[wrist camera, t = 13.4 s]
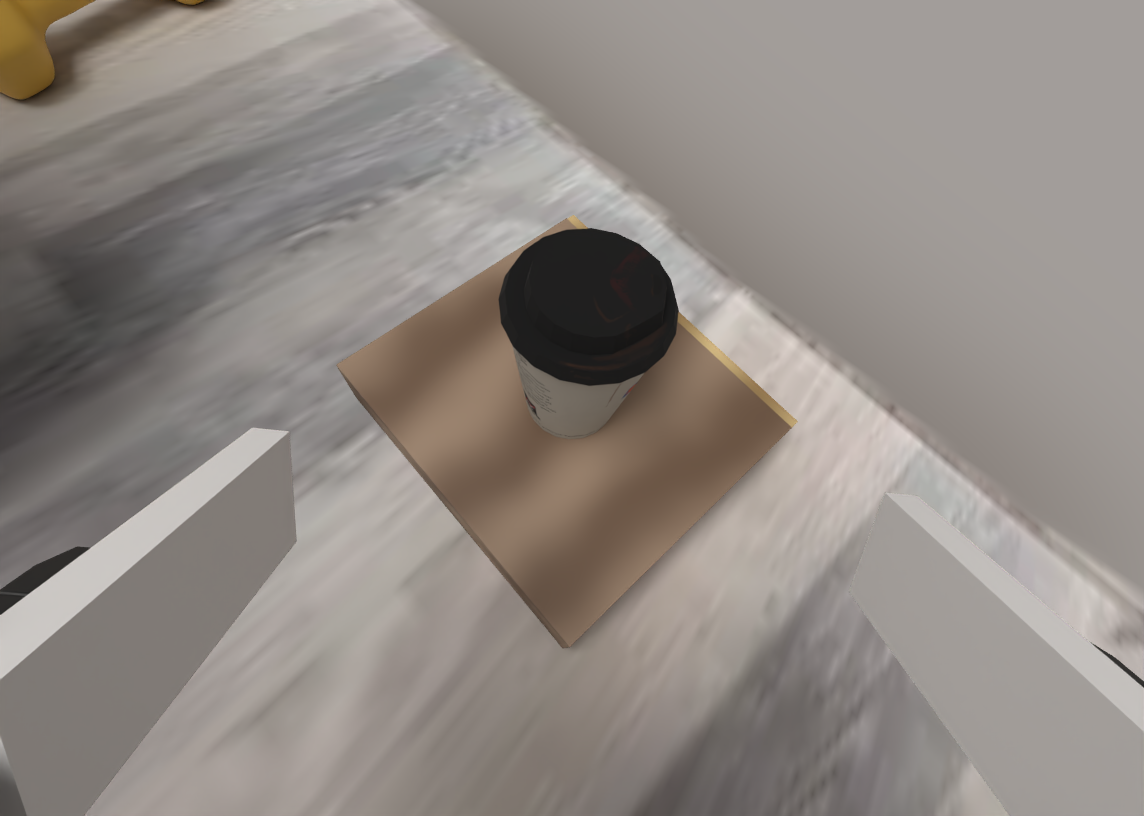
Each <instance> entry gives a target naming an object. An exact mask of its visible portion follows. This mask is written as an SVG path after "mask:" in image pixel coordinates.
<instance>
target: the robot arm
mask: <svg viewBox="0 0 1144 816" xmlns="http://www.w3.org/2000/svg"><path fill="white" fill-rule="evenodd" d="M296 541H297V540H296V525H295V510H294V494H293V479H292V463H291V448H290V432H289V431H280V430H270V429H260V428H251V429H250V430H249V431H247V432H246V433H245V434H243V435H242V436H241V437H239V438H238V439H237V440H235V441H234V442H233V443H231V444H230V445H229V446H227V447H226V448H224V449H223V450H222V451H220V452H219V453H218V454H216V455H215V456H214V457H212V458H211V459H210V460H208V461H207V462H206V463H204V464H203V465H202V466H200V467H199V468H198V469H196V470H195V471H194V472H192V473H191V474H190V475H188V476H187V477H185V478H184V479H183V480H181V481H180V482H179V483H177V484H176V485H175V486H173V487H172V488H171V489H169V490H168V491H167V492H165V493H164V494H163V495H161V496H160V497H159V498H157V499H156V500H155V501H153V502H152V503H151V504H149V505H148V506H146V507H145V508H144V509H142V510H141V511H140V512H138V513H137V514H136V515H134V516H133V517H132V518H130V519H129V520H128V521H126V522H125V523H124V524H122V525H121V526H120V527H118V528H117V529H116V530H114V531H113V532H112V533H110V534H109V535H107V536H106V537H105V538H103V539H102V540H101V541H99V542H98V543H97V544H95V545H94V546H93V547H91V548H88V547H75V548H73V549H71V550H69V551H66V552H64V553H62V554H60V555H57V556H55V557H53V558H51V559H48V560H46V561H44V562H42V563H39V564H37V565H35V566H33V567H32V568H31V569H29V570H28V571H26V572H25V573H23V574H22V575H21V576H19V577H18V578H16V579H15V580H13V581H12V582H11V583H9V584H8V585H6V586H5V587H3V588H2V589H1V590H0V816H84V815H85V814H86V812H87V811H88V810H89V809H90V807H91V806H92V805H93V803H94V802H95V801H96V800H97V798H98V797H99V796H100V794H101V793H102V792H103V790H104V789H105V788H106V787H107V785H108V784H109V783H110V781H111V780H112V779H113V778H114V776H115V775H116V774H117V772H118V771H119V770H120V769H121V767H122V766H123V765H124V763H125V762H126V761H127V759H128V758H129V757H130V756H131V754H132V753H133V752H134V750H135V749H136V748H137V747H138V745H139V744H140V743H141V741H142V740H143V739H144V738H145V736H146V735H147V734H148V732H149V731H150V730H151V728H152V727H153V726H154V725H155V723H156V722H157V721H158V719H159V718H160V717H161V716H162V714H163V713H164V712H165V710H166V709H167V708H168V707H169V705H170V704H171V703H172V701H173V700H174V699H175V698H176V696H177V695H178V694H179V692H180V691H181V690H182V688H183V687H184V686H185V685H186V683H187V682H188V681H189V679H190V678H191V677H192V676H193V674H194V673H195V672H196V670H197V669H198V668H199V667H200V665H201V664H202V663H203V661H204V660H205V659H206V657H207V656H208V655H209V654H210V652H211V651H212V650H213V648H214V647H215V646H216V645H217V643H218V642H219V641H220V639H221V638H222V637H223V636H224V634H225V633H226V632H227V630H228V629H229V628H230V627H231V625H232V624H233V623H234V621H235V620H236V619H237V617H238V616H239V615H240V614H241V612H242V611H243V610H244V608H245V607H246V606H247V605H248V603H249V602H250V601H251V599H252V598H253V597H254V596H255V594H256V593H257V592H258V590H259V589H260V588H261V586H262V585H263V584H264V583H265V581H266V580H267V579H268V577H269V576H270V575H271V574H272V572H273V571H274V570H275V568H276V567H277V566H278V565H279V563H280V562H281V561H282V559H283V558H284V557H285V555H286V554H287V553H288V552H289V550H290V549H291V548H292V546H293V545H294V544H295V543H296ZM849 593H850V595H851V596H852V597H853V599H854V600H855V602H856V603H857V604H858V606H859V607H860V608H861V610H862V611H863V613H864V614H865V615H866V617H867V618H868V620H869V621H870V622H871V624H872V625H873V627H874V628H875V629H876V631H877V632H878V633H879V635H880V636H881V638H882V639H883V640H884V642H885V643H886V645H887V646H888V647H889V649H890V650H891V652H892V653H893V654H894V656H895V657H896V659H897V660H898V661H899V663H900V664H901V665H902V667H903V668H904V670H905V671H906V672H907V674H908V675H909V677H910V678H911V679H912V681H913V682H914V684H915V685H916V686H917V688H918V689H919V690H920V692H921V693H922V695H923V696H924V697H925V699H926V700H927V702H928V703H929V704H930V706H931V707H932V709H933V710H934V711H935V713H936V714H937V716H938V717H939V718H940V720H941V721H942V722H943V724H944V725H945V727H946V728H947V729H948V731H949V732H950V734H951V735H952V736H953V738H954V739H955V741H956V742H957V743H958V745H959V746H960V747H961V749H962V750H963V752H964V753H965V754H966V756H967V757H968V759H969V760H970V761H971V763H972V764H973V766H974V767H975V768H976V770H977V771H978V773H979V774H980V775H981V777H982V778H983V779H984V781H985V782H986V784H987V785H988V786H989V788H990V789H991V791H992V792H993V793H994V795H995V796H996V798H997V799H998V800H999V802H1000V803H1001V804H1002V806H1003V807H1004V809H1005V810H1006V811H1007V813H1008V814H1009V816H1144V681H1143V680H1141V679H1140V678H1139V677H1138V676H1137V675H1135V674H1134V673H1133V672H1132V671H1131V670H1129V669H1128V668H1127V667H1126V666H1125V665H1123V664H1122V663H1121V662H1120V661H1119V660H1117V659H1116V658H1115V657H1113V656H1112V655H1110V654H1108V653H1107V652H1105V651H1104V650H1102V649H1100V648H1099V647H1097V646H1096V645H1094V644H1092V643H1091V642H1089V641H1088V640H1087V639H1086V638H1084V637H1083V636H1082V635H1081V634H1080V633H1078V632H1077V631H1076V630H1075V629H1074V628H1073V627H1071V626H1070V625H1069V624H1068V623H1067V622H1066V621H1064V620H1063V619H1062V618H1061V617H1060V616H1058V615H1057V614H1056V613H1055V612H1054V611H1053V610H1051V609H1050V608H1049V607H1048V606H1047V605H1045V604H1044V603H1043V602H1042V601H1041V600H1040V599H1038V598H1037V597H1036V596H1035V595H1034V594H1033V593H1031V592H1030V591H1029V590H1028V589H1027V588H1025V587H1024V586H1023V585H1022V584H1021V583H1020V582H1018V581H1017V580H1016V579H1015V578H1014V577H1012V576H1011V575H1010V574H1009V573H1008V572H1007V571H1005V570H1004V569H1003V568H1002V567H1001V566H999V565H998V564H997V563H996V562H995V561H994V560H992V559H991V558H990V557H989V556H988V555H987V554H985V553H984V552H983V551H982V550H981V549H979V548H978V547H977V546H976V545H975V544H974V543H972V542H971V541H970V540H969V539H968V538H966V537H965V536H964V535H963V534H962V533H961V532H959V531H958V530H957V529H956V528H955V527H953V526H952V525H951V524H950V523H949V522H948V521H946V520H945V519H944V518H943V517H942V516H941V515H939V514H938V513H937V512H936V511H935V510H933V509H932V508H931V507H930V506H929V505H928V504H926V503H925V502H924V501H923V500H922V499H920V498H919V497H918V496H915V495H905V494H895V493H886V492H885V493H884V495H883V498H882V501H881V504H880V507H879V509H878V512H877V515H876V518H875V520H874V523H873V526H872V529H871V531H870V534H869V537H868V540H867V542H866V545H865V548H864V551H863V553H862V556H861V559H860V562H859V564H858V567H857V570H856V573H855V576H854V578H853V581H852V584H851V587H850V589H849Z"/></svg>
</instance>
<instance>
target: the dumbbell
mask: <svg viewBox="0 0 1144 816" xmlns="http://www.w3.org/2000/svg"><path fill="white" fill-rule="evenodd" d="M94 1H96V0H0V92H1V93H3V94H5V95H7V96H9V97H12V98H15V99H27V98H29V97H31V96H33V95H35V94H37V93H39V92H40V91H42V90H44V89H45V88H47V87H48V86H49V85H50V84H51V83H52V82H53V79H54V77H55V69H54V65H53V60H52V58H51V55H50V53H49V50H48V47H47V45H46V40H45V33H46V30H47V28H48V27H49V25H50V24H52V23H53V22H55V21H57V20H59V19H61V18H63V17H65V16H67V15H69V14H71V13H73V12H75V11H77V10H79V9H80V8H82V7H84V6H86V5H88V4H90V3H92V2H94ZM176 1H179V2H181V3H184V4H190V5H194V4H198V3H200V2H203V1H205V0H176Z"/></svg>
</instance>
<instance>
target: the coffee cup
mask: <svg viewBox="0 0 1144 816" xmlns="http://www.w3.org/2000/svg"><path fill="white" fill-rule="evenodd" d="M498 300H499V309H500V318H501V324H502V326H503V328H504V330H505V332H506V334H507V336H508V338H509V340H510V342H511V344H512V346H513V350H514V354H515V358H516V363H517V367H518V371H519V375H520V379H521V383H522V387H523V391H524V395H525V399H526V403H527V407H528V410H529V412H530V414H531V416H532V418H533V420H534V421H535V422H536V423H537V424H538V425H539V426H540V427H541V428H542V429H543V430H544V431H546V432H548V433H550V434H552V435H554V436H556V437H561V438H566V439H577V438H584V437H587V436H589V435H591V434H594V433H596V432H597V431H598V430H599V429H600V428H602V427H603V426H604V425H605V424H606V423H607V421H608V420H609V419H610V417H611V416H612V415H613V414H614V412H615V411H616V410H617V408H618V407H619V406H620V404H621V403H622V402H623V400H624V399H625V398H626V396H627V395H628V394H629V393H630V391H631V390H632V389H633V387H634V386H635V385H636V383H637V382H638V381H639V379H640V378H641V377H642V375H643V374H644V373H645V372H647V371H648V370H649V369H650V368H651V367H652V366H653V365H655V364H656V363H657V362H658V361H659V360H660V359H661V358H662V357H664V356H665V354H666V352H667V350H668V348H669V346H670V345H671V343H672V341H673V339H674V337H675V335H676V330H677V321H678V312H679V310H678V306H677V302H676V298H675V294H674V290H673V286H672V282H671V279H670V278H669V276H668V275H667V273H666V271H665V270H664V268H663V267H662V265H661V263H660V261H659V260H657V259H656V258H655V257H654V256H653V255H652V254H650V253H649V252H648V251H647V250H646V249H644V248H643V247H642V246H641V245H640V244H638V243H636V242H634V241H632V240H630V239H627V238H625V237H623V236H621V235H619V234H617V233H613V232H608V231H603V230H598V229H592V228H588V229H568V230H563V231H560V232H557V233H554V234H551V235H548V236H545V237H542V238H541V239H540V240H538V241H537V242H535V243H534V244H532V245H531V246H529V247H528V248H527V249H525V250H524V251H523V252H522V253H521V255H520V256H519V257H518V259H517V260H516V261H515V263H514V264H513V266H512V267H511V268H510V270H509V271H508V272H507V274H506V275H505V277H504V280H503V284H502V288H501V291H500V295H499V299H498Z"/></svg>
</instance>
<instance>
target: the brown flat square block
mask: <svg viewBox="0 0 1144 816" xmlns="http://www.w3.org/2000/svg"><path fill="white" fill-rule="evenodd" d="M568 229H588V228H587V227H586V226H585V225H584V224H583V223H582V222H581V221H580V220H578V219H577V218H576V217H575V216H574V215H573V216H571V217H569V218H568V219H567V218H566V219H565V220H563V221H562V222H560V223H558V224H557V225H555V226H554V227H552V228H551V229H549V230H547V231H546V232H544V233H543V234H541V235H540V236H538V237H536V238H535V239H533V240H532V241H530V242H529V243H527V244H525V245H524V246H522V247H521V248H519V249H518V250H516V251H514V252H513V253H511V254H510V255H508V256H507V257H505V258H503V259H502V260H500V261H499V262H497V263H496V264H494V265H492V266H491V267H489V268H488V269H486V270H485V271H483V272H481V273H480V274H478V275H477V276H475V277H474V278H472V279H470V280H469V281H467V282H466V283H464V284H463V285H461V286H459V287H458V288H456V289H455V290H453V291H452V292H450V293H448V294H447V295H445V296H444V297H442V298H441V299H439V300H437V301H436V302H434V303H433V304H431V305H430V306H428V307H426V308H425V309H423V310H422V311H420V312H419V313H417V314H415V315H414V316H412V317H411V318H409V319H408V320H406V321H404V322H403V323H401V324H400V325H398V326H397V327H395V328H393V329H392V330H390V331H389V332H387V333H386V334H384V335H382V336H381V337H379V338H378V339H376V340H375V341H373V342H371V343H370V344H368V345H367V346H365V347H364V348H362V349H360V350H359V351H357V352H356V353H354V354H353V355H351V356H349V357H348V358H346V359H345V360H343V361H342V362H340V363H338V364H337V367H338V369H339V370H340V372H341V374H342V375H343V377H344V378H345V380H346V382H347V383H348V385H349V387H350V388H351V390H352V391H353V393H354V395H355V396H356V398H357V399H358V400H359V401H360V403H361V404H362V405H363V406H364V408H365V409H366V410H367V411H368V412H369V414H370V415H371V416H372V417H373V418H374V420H375V421H376V422H377V423H378V425H379V426H380V427H381V428H382V429H383V431H384V432H385V433H386V434H387V435H388V437H389V438H390V439H391V440H392V442H393V443H394V444H395V445H396V446H397V448H398V449H399V450H400V451H401V452H402V454H403V455H404V456H405V457H406V459H407V460H408V461H409V462H410V463H411V465H412V466H413V467H414V468H415V469H416V471H417V472H418V473H419V474H420V476H421V477H422V478H423V479H424V480H425V482H426V483H427V484H428V485H429V486H430V488H431V489H432V490H433V491H434V493H435V494H436V495H437V496H438V497H439V499H440V500H441V501H442V502H443V504H444V505H445V506H446V507H447V508H448V510H449V511H450V512H451V513H452V514H453V516H454V517H455V518H456V519H457V521H458V522H459V523H460V524H461V525H462V527H463V528H464V529H465V530H466V531H467V533H468V534H469V535H470V536H471V538H472V539H473V540H474V541H475V542H476V544H477V545H478V546H479V547H480V548H481V550H482V551H483V552H484V553H485V555H486V556H487V557H488V558H489V559H490V561H491V562H492V563H493V564H494V565H495V567H496V568H497V569H498V570H499V572H500V573H501V574H502V575H503V576H504V578H505V579H506V580H507V581H508V582H509V584H510V585H511V586H512V587H513V589H514V590H515V591H516V592H517V593H518V595H519V596H520V597H521V598H522V599H523V601H524V602H525V603H526V604H527V606H528V607H529V608H530V609H531V610H532V612H533V613H534V614H535V615H536V616H537V618H538V619H539V620H540V621H541V623H542V624H543V625H544V626H545V627H546V629H547V630H548V631H549V632H550V633H551V635H552V636H553V637H554V638H555V640H556V641H557V642H558V643H559V644H560V646H561V647H562V648H567V647H570V646H571V645H572V644H573V643H574V642H575V641H576V640H577V639H578V638H579V637H580V636H581V635H582V634H583V633H584V632H585V631H586V630H587V629H588V628H589V627H591V626H592V625H593V624H594V623H595V622H596V621H597V620H598V619H599V618H600V617H601V616H602V615H603V614H604V613H605V612H606V611H607V610H608V609H609V608H610V607H611V606H612V605H613V604H614V603H615V602H616V601H617V600H618V599H619V598H620V597H621V596H622V595H623V594H624V593H625V592H626V591H627V590H628V589H629V588H630V587H631V586H632V585H633V584H634V583H635V582H636V581H637V580H638V579H639V578H640V577H641V576H642V575H643V574H644V573H645V572H646V571H647V570H648V569H649V568H650V567H651V566H652V565H653V564H654V563H655V562H656V561H657V560H658V559H659V558H660V557H661V556H662V555H663V554H664V553H665V552H666V551H667V550H668V549H669V548H670V547H671V546H673V545H674V544H675V543H676V542H677V541H678V540H679V539H680V538H681V537H682V536H683V535H684V534H685V533H686V532H687V531H688V530H689V529H690V528H691V527H692V526H693V525H694V524H695V523H696V522H697V521H698V520H699V519H700V518H701V517H702V516H703V515H704V514H705V513H706V512H707V511H708V510H709V509H710V508H711V507H712V506H713V505H714V504H715V503H716V502H717V501H718V500H719V499H720V498H721V497H722V496H723V495H724V494H725V493H726V492H727V491H728V490H729V489H730V488H731V487H732V486H733V485H734V484H735V483H736V482H737V481H738V480H739V479H740V478H741V477H742V476H743V475H744V474H745V473H746V472H747V471H748V470H749V469H750V468H751V467H752V466H753V465H755V464H756V463H757V462H758V461H759V460H760V459H761V458H762V457H763V456H764V455H765V454H766V453H767V452H768V451H769V450H770V449H771V448H772V447H773V446H774V445H775V444H776V443H777V442H778V441H779V440H780V439H781V438H782V437H783V436H784V435H785V434H786V433H787V432H788V431H789V430H790V429H791V428H792V427H793V426H794V425H795V424H796V423H797V422H798V421H797V420H796V419H795V418H793V417H792V416H791V415H790V414H789V413H788V412H787V411H786V410H785V409H784V408H783V407H781V406H780V405H779V404H778V403H777V402H776V401H775V400H774V399H773V398H772V397H771V396H770V395H768V394H767V393H766V392H765V391H764V390H763V389H762V388H761V387H760V386H759V385H758V384H757V383H755V382H754V381H753V380H752V379H751V378H750V377H749V376H748V375H747V374H746V373H745V372H743V371H742V370H741V369H740V368H739V367H738V366H737V365H736V364H735V363H734V362H733V361H732V360H730V359H729V358H728V357H727V356H726V355H725V354H724V353H723V352H722V351H721V350H720V349H719V348H717V347H716V346H715V345H714V344H713V343H712V342H711V341H710V340H709V339H708V338H707V337H705V336H704V335H703V334H702V333H701V332H700V331H699V330H698V329H697V328H696V327H695V326H694V325H692V324H691V323H690V322H689V321H688V320H687V319H686V318H685V317H684V316H683V315H682V314H681V313H679V312H678V321H677V330H676V335H675V337H674V339H673V341H672V343H671V345H670V346H669V348H668V350H667V352H666V354H665V356H664V357H662V358H661V359H660V360H659V361H658V362H657V363H656V364H655V365H653V366H652V367H651V368H650V369H649V370H648V371H647V372H645V373H644V374H643V375H642V377H641V378H640V379H639V381H638V382H637V383H636V385H635V386H634V387H633V389H632V390H631V391H630V393H629V394H628V395H627V396H626V398H625V399H624V400H623V402H622V403H621V404H620V406H619V407H618V408H617V410H616V411H615V412H614V414H613V415H612V416H611V417H610V419H609V420H608V421H607V423H606V424H605V425H604V426H603V427H602V428H600V429H599V430H598V431H597V432H596V433H594V434H591V435H589V436H587V437H584V438H577V439H566V438H561V437H556V436H554V435H552V434H550V433H548V432H546V431H544V430H543V429H542V428H541V427H540V426H539V425H538V424H537V423H536V422H535V421H534V420H533V418H532V416H531V414H530V412H529V410H528V407H527V403H526V399H525V395H524V391H523V387H522V383H521V379H520V375H519V371H518V367H517V363H516V358H515V354H514V350H513V346H512V344H511V342H510V340H509V338H508V336H507V334H506V332H505V330H504V328H503V326H502V324H501V318H500V309H499V300H498V299H499V295H500V291H501V288H502V284H503V280H504V277H505V275H506V274H507V272H508V271H509V270H510V268H511V267H512V266H513V264H514V263H515V261H516V260H517V259H518V257H519V256H520V255H521V253H522V252H523V251H524V250H525V249H527V248H528V247H529V246H531V245H532V244H534V243H535V242H537V241H538V240H540V239H541V238H542V237H545V236H548V235H551V234H554V233H557V232H560V231H563V230H568Z"/></svg>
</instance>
